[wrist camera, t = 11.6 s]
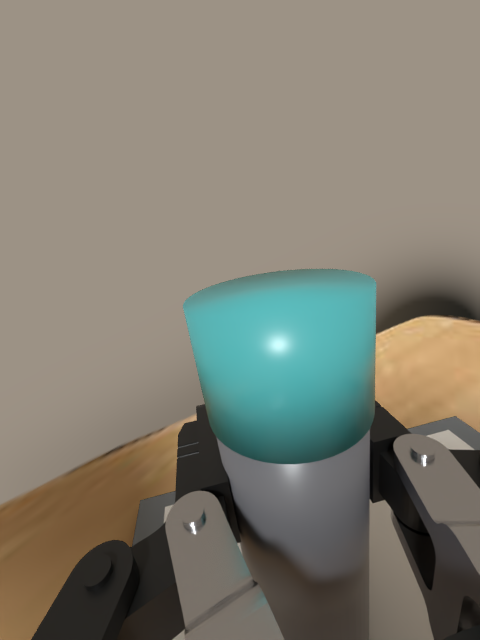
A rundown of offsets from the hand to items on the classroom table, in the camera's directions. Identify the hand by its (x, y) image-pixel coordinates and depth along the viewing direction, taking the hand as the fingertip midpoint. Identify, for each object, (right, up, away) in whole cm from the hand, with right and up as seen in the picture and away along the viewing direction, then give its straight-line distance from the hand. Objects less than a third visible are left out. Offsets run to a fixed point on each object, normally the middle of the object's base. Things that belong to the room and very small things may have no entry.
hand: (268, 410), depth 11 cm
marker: (+1, -7, 0) cm, 7 cm away
